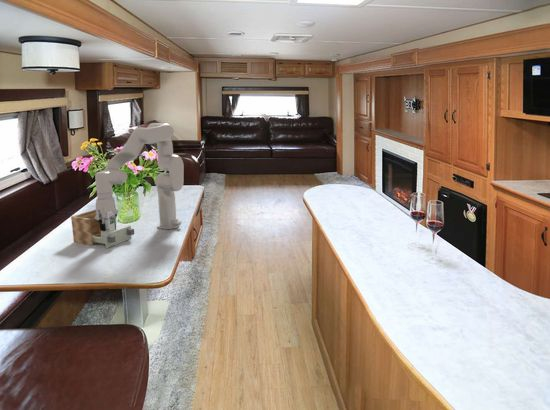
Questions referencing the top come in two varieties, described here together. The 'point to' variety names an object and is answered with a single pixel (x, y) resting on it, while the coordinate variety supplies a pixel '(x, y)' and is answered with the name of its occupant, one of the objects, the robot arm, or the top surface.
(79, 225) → the bay
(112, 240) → the tray
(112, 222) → the syrup box
